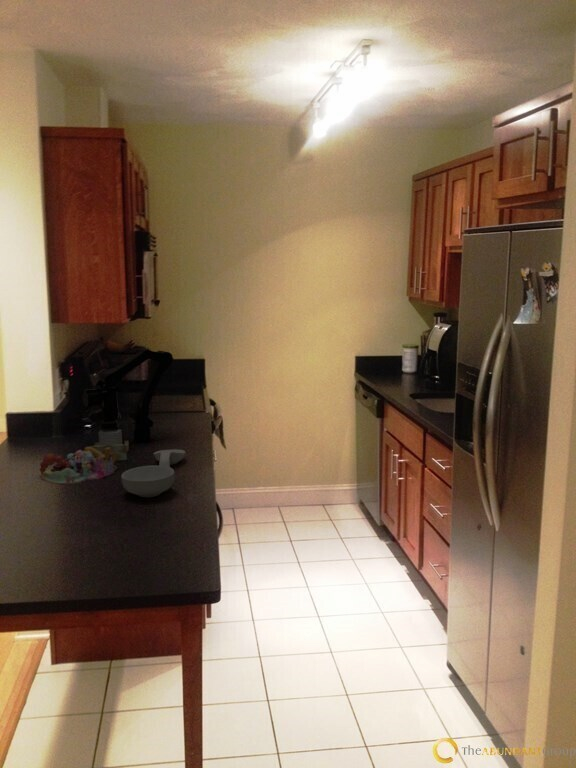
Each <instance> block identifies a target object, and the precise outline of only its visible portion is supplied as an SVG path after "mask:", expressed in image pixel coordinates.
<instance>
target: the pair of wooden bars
mask: <svg viewBox="0 0 576 768" xmlns="http://www.w3.org/2000/svg"><path fill="white" fill-rule="evenodd" d="M90 447H93V448H95V449H96V450H97V451H100V452H101V453H102V454H104V448H106V447H110V448H111V452H110V453H115V452H117V457H116V460H115V462H120V461H127V460H128V457H127V456H128V455H127V453H129V450H130V449H129V448H130V442H129V440H124V444H123V443H122V444H121V445H103V446H99V441H98V442H94V445H90Z"/></svg>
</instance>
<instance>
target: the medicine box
mask: <svg viewBox="0 0 576 768" xmlns="http://www.w3.org/2000/svg"><path fill="white" fill-rule="evenodd" d="M122 432H123V431H122V429H117V430H116V429H101V430H100V431H99V432H98V442H99V446H103V445H121V444H123V436H122Z"/></svg>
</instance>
